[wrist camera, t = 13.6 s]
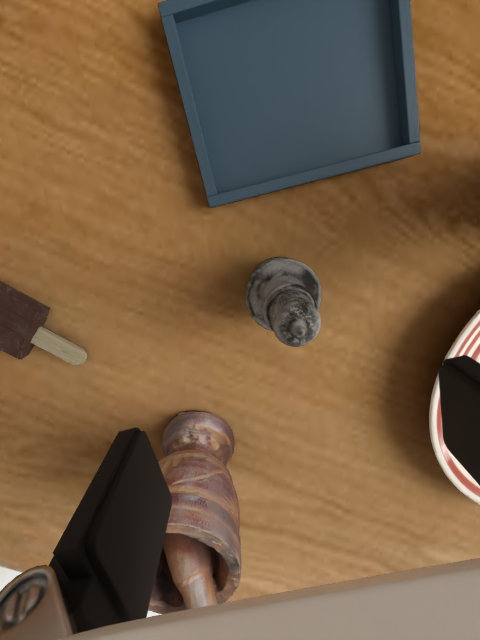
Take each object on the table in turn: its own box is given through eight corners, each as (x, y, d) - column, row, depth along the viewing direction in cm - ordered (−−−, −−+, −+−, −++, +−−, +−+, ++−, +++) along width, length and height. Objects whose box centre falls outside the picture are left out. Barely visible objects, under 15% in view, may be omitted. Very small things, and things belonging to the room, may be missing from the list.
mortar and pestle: (282, 439, 34) (334, 733, 14) (243, 498, 36) (242, 817, 17) (179, 392, 32) (86, 651, 13) (145, 456, 34) (23, 756, 15)
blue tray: (163, 16, 23) (157, 2, 22) (394, -55, 22) (405, -76, 20) (211, 208, 27) (209, 207, 25) (410, 156, 26) (421, 152, 24)
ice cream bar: (100, 334, 30) (-60, 247, 28) (92, 341, 29) (-78, 248, 26) (78, 378, 32) (-77, 298, 29) (69, 386, 30) (-95, 302, 28)
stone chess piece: (233, 301, 29) (227, 357, 18) (264, 241, 28) (279, 258, 16) (291, 329, 30) (321, 400, 19) (325, 272, 28) (380, 310, 17)
